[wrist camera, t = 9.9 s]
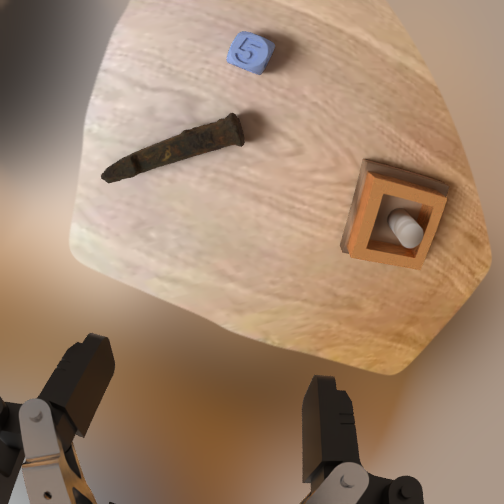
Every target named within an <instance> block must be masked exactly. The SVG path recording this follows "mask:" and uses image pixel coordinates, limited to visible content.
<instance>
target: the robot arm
mask: <svg viewBox="0 0 504 504" xmlns="http://www.w3.org/2000/svg"><path fill="white" fill-rule="evenodd" d="M114 370H115V361H114V357H113V353H112V349H111V345H110V341H109V339H108V338H107V337H105V336H100V335H97V334H94V333H90V334H88V335H87V337H86V338H85V340H84V341H83V343H79V342H77V343H75V344H74V345H73V346H71V347H70V348H69V349H68V350H67V351H66V353H65V354H64V356H63V357H62V360H61V361H60V362H59V364H58V365H57V368H56V369H55V370H54V372H53V373H52V375H51V377H50V378H49V380H48V381H47V383H46V385H45V387H44V388H43V390H42V392H41V393H40V395H39V396H38V397H37V398H36V399H30V400H28V401H26V402H25V403H23V404H17V403H10V402H4V401H3V400H2V398H1V397H0V504H8V502H9V499H10V496H11V493H12V490H13V488H14V484H15V482H16V479H17V476H18V473H19V471H20V468H21V466H22V472H23V477H24V481H25V485H26V489H27V493H28V497H29V500H30V504H97V502H96V500H95V497H94V495H93V493H92V491H91V489H90V488H89V486H88V485H87V483H86V481H85V478H84V475H83V472H82V469H81V466H80V463H79V460H78V457H77V454H76V450H75V447H74V444H73V438H74V436H75V434H76V435H78V436H80V437H83V438H84V437H85V435H86V432H87V430H88V428H89V426H90V423H91V421H92V419H93V417H94V414H95V412H96V410H97V408H98V406H99V404H100V401H101V399H102V397H103V395H104V393H105V391H106V389H107V387H108V385H109V382H110V380H111V378H112V376H113V373H114ZM353 414H354V413H353V406H352V401H351V400H350V398H349V396H348V395H347V393H346V391H340V390H337V389H336V382H335V378H334V377H333V376H322V375H314V377H313V378H312V381H311V383H310V385H309V387H308V390H307V392H306V394H305V397H304V400H303V405H302V444H303V483H311V492H310V493H309V494H308V495H307V496H306V497H305V498H304V499H303V501H302V502H301V503H300V504H424V500H423V491H422V486H421V484H420V483H419V481H418V480H417V479H415V478H413V477H410V476H401V477H398V478H397V479H395V480H391V479H386V478H382V477H378V476H374V475H372V474H370V473H368V472H367V471H366V470H365V469H364V468H363V466H362V465H361V462H360V459H359V451H358V443H357V435H356V428H355V425H354V424H355V420H354V416H353ZM25 457H26V462H25V463H23V460H24V458H25ZM22 463H23V464H22ZM109 504H114V503H112V502H109Z"/></svg>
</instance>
